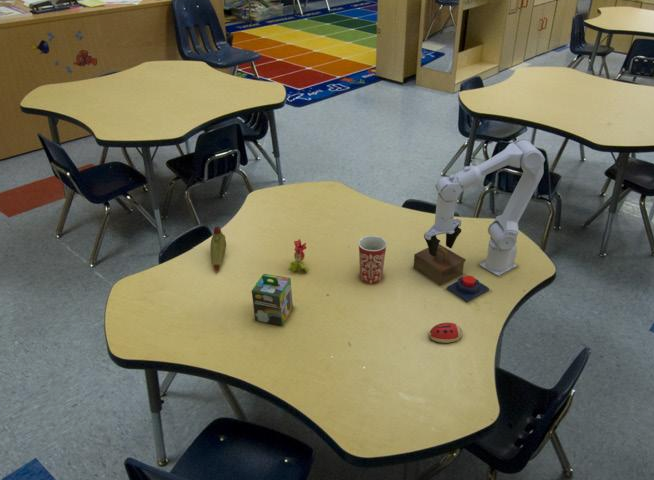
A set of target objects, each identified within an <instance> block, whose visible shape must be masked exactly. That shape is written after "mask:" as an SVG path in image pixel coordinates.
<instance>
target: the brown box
mask: <svg viewBox="0 0 654 480" xmlns="http://www.w3.org/2000/svg"><path fill="white" fill-rule="evenodd" d="M464 267H465V261H464V262H462V263H460V264H458V265H456V266H454V267H452V268H450V269H448V270H446V271H444V272H440V271H439V270H437V269H435V268H434V267H432V266H431V265H429V264H427V263H426V262H424V261H423V260H421V259H419V258H418V257H416V256H415V255H414V256H413V267H412V268H413V270H414V271H416V272H418V273H419V274H421V275H422V276H424V277H426V278H427V279H429V280H431V281H432V282H434V283H435V284H437V285H438V286H443V285H445V284H447V283H449V282H451V281H453V280H455V279H456V278H458V277H459V278H460V277H462V275H463V274H464Z"/></svg>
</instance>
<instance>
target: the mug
mask: <svg viewBox="0 0 654 480" xmlns="http://www.w3.org/2000/svg"><path fill="white" fill-rule="evenodd" d="M357 244H358V256H359V278H360V280H361V281H362V282H363V283H366V284H370V285H371V284H372V285H373V284H378V283H380V282H381V281H382V280H383V273H384V267H385V259H386V252H387V251H386V250H387V246H388V243H387V240H386V239H384V238H383V237H381V236H378V235H366V236H363V237H362V238H359V240H358V242H357Z"/></svg>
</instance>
